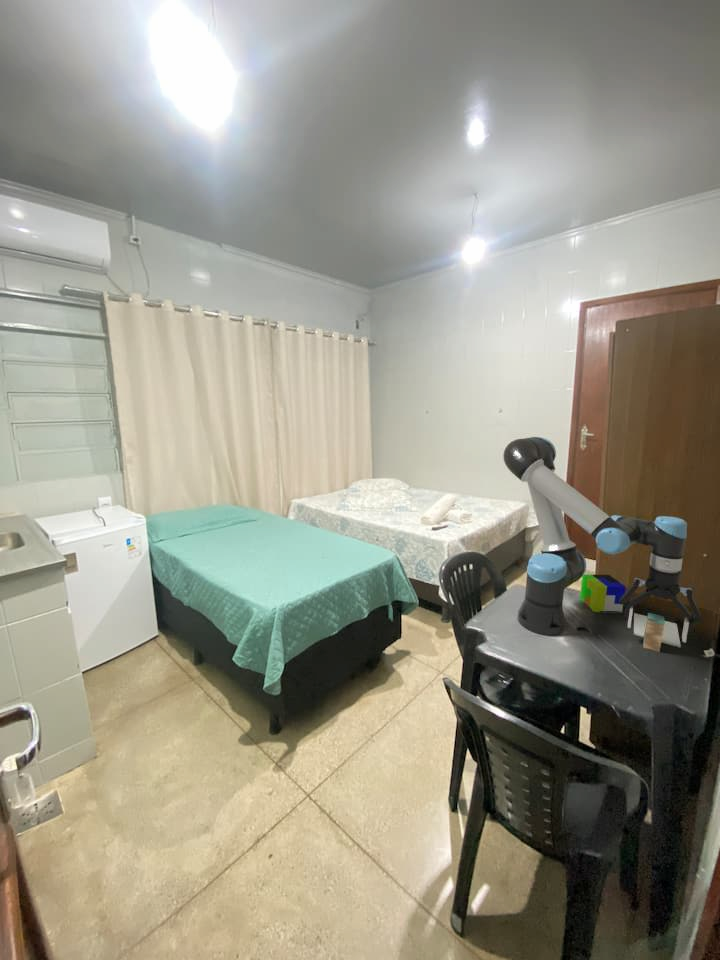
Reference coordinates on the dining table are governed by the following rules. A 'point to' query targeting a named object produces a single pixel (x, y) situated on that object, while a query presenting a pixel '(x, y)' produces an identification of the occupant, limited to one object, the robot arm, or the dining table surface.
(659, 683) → the dining table surface
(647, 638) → the block
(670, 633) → the mat
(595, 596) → the puzzle toy
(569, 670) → the dining table surface
